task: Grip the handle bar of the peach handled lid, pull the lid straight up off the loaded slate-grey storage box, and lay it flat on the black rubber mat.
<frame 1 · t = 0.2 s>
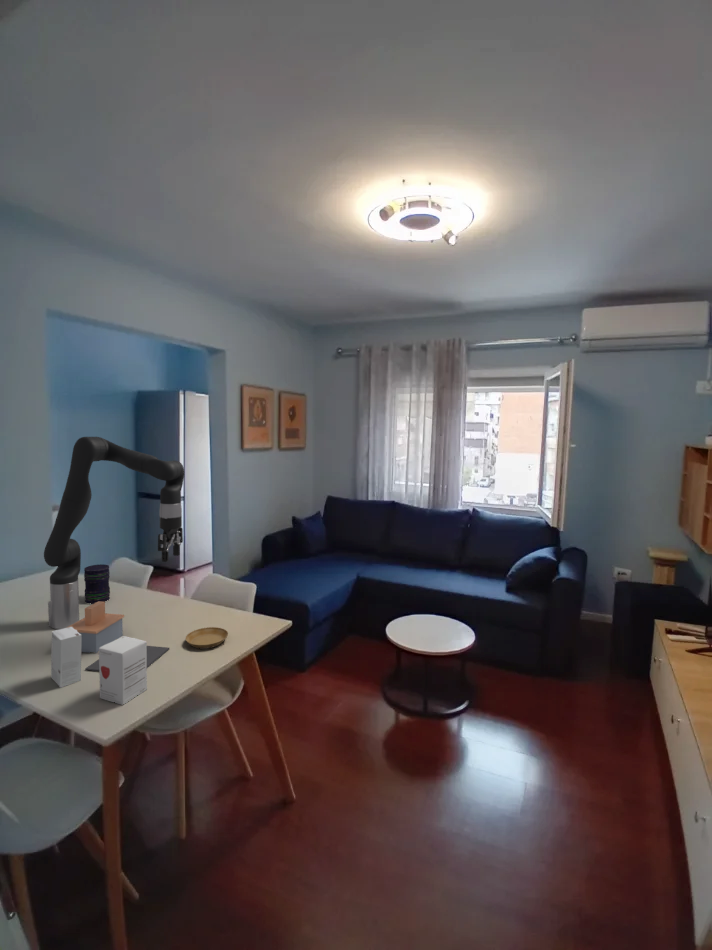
hand: (170, 558, 170), 29 cm above the table, tool pointing down, fingers open, 8 cm apart
black rubber mat: (129, 659, 152), on the table
peach handled lid: (95, 627, 163), point 5 cm above the table, touching slate storage box
skincare box: (66, 680, 139), on the table
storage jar: (97, 600, 205), on the table
supplement box: (123, 694, 132), on the table
plant saucer: (207, 642, 167), on the table
slate storage box: (95, 642, 164), on the table
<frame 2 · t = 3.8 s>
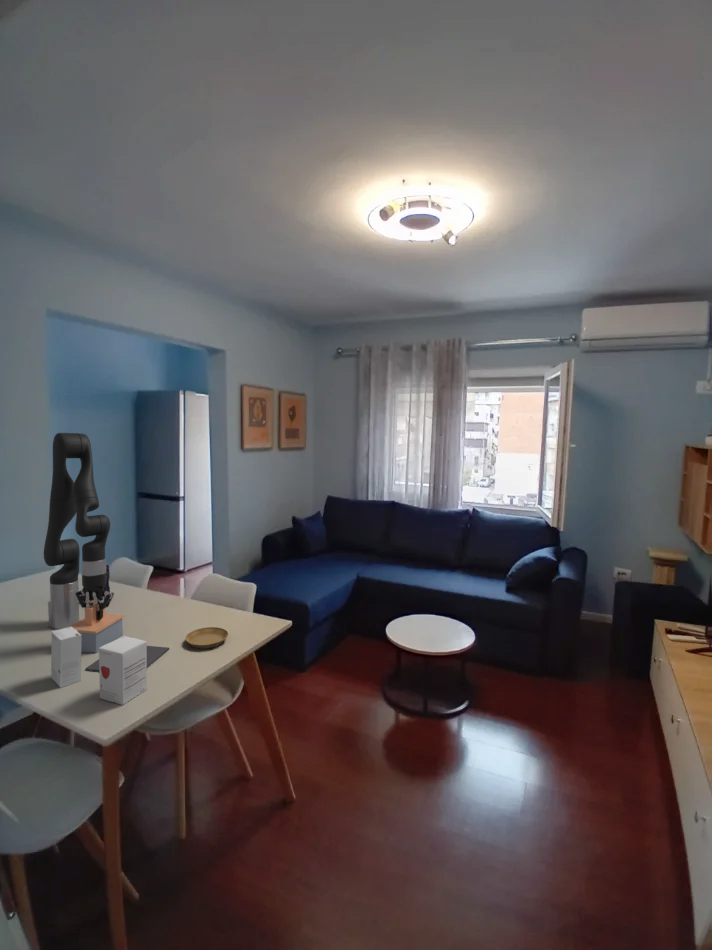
hand: (95, 619, 163), 9 cm above the table, tool pointing down, fingers closed on peach handled lid, 2 cm apart
peach handled lid: (95, 627, 163), point 5 cm above the table, touching gripper, slate storage box
everything else where it was.
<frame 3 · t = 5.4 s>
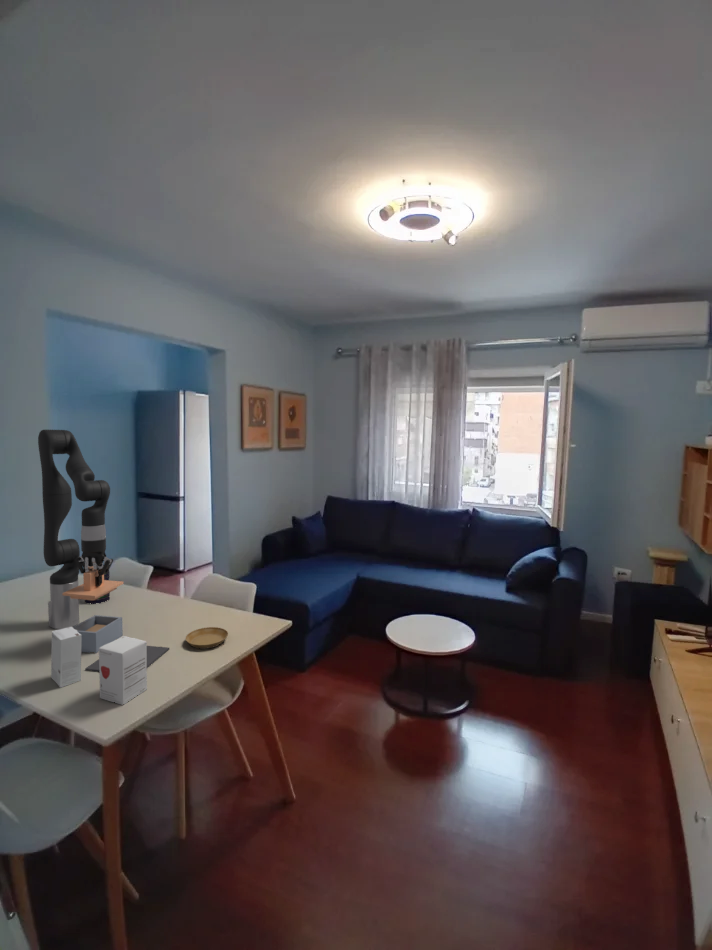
hand: (94, 585, 162), 21 cm above the table, tool pointing down, fingers closed on peach handled lid, 2 cm apart
peach handled lid: (94, 593, 162), point 18 cm above the table, touching gripper
everything else where it was.
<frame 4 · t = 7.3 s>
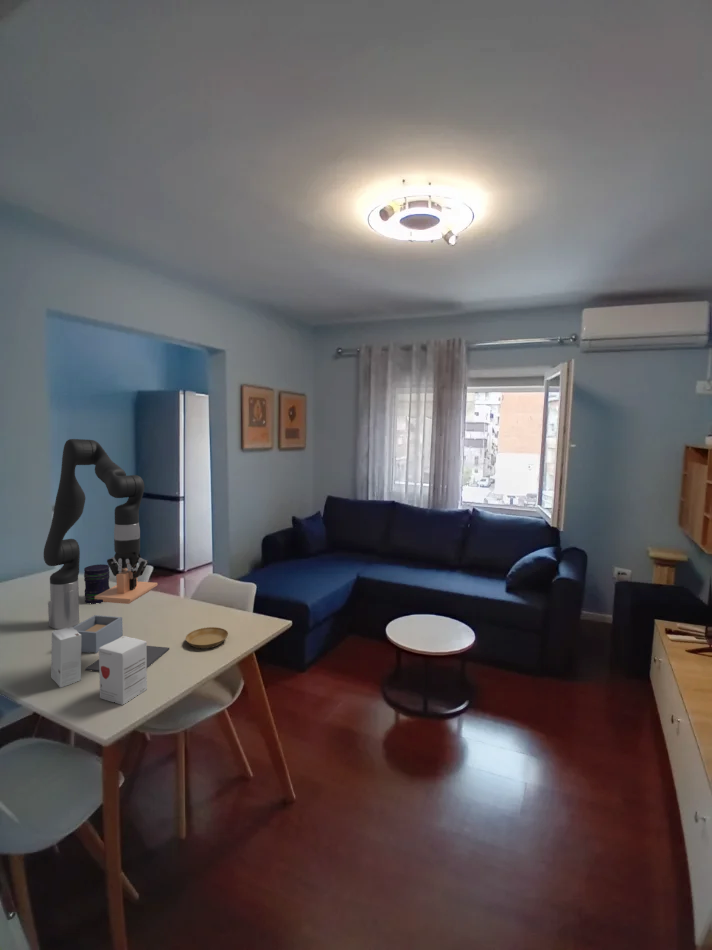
hand: (128, 588, 150), 24 cm above the table, tool pointing down, fingers closed on peach handled lid, 2 cm apart
peach handled lid: (127, 596, 150), point 22 cm above the table, touching gripper
everything else where it was.
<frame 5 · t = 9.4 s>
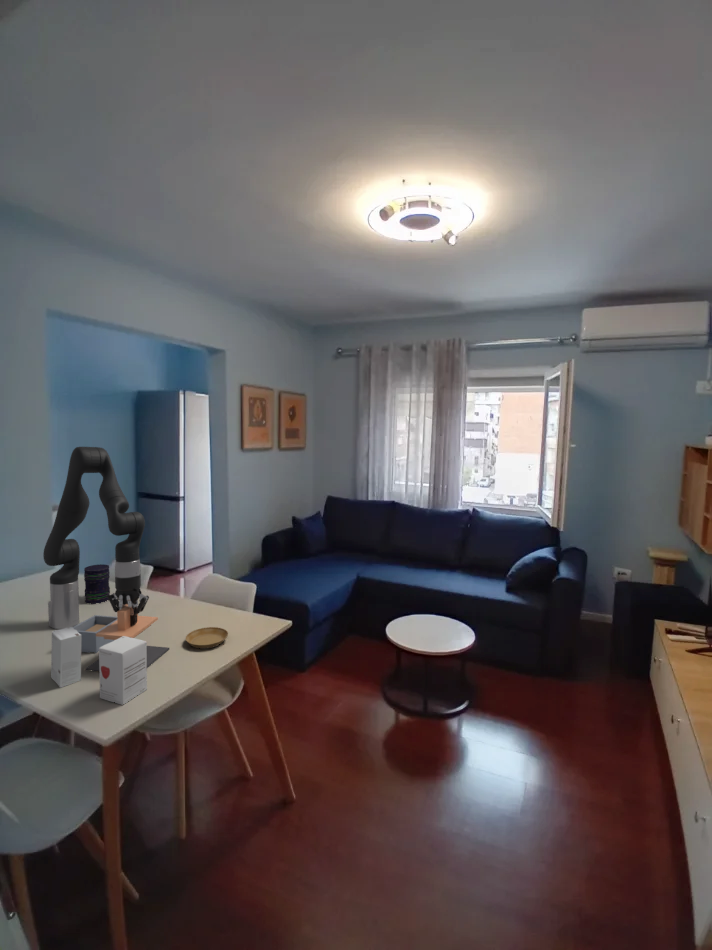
hand: (128, 624, 151), 12 cm above the table, tool pointing down, fingers closed on peach handled lid, 2 cm apart
peach handled lid: (128, 631, 151), point 10 cm above the table, touching gripper
everything else where it was.
when the fingers open (5 cm above the table, at t = 11.0 s): peach handled lid drops 2 cm, resting on black rubber mat.
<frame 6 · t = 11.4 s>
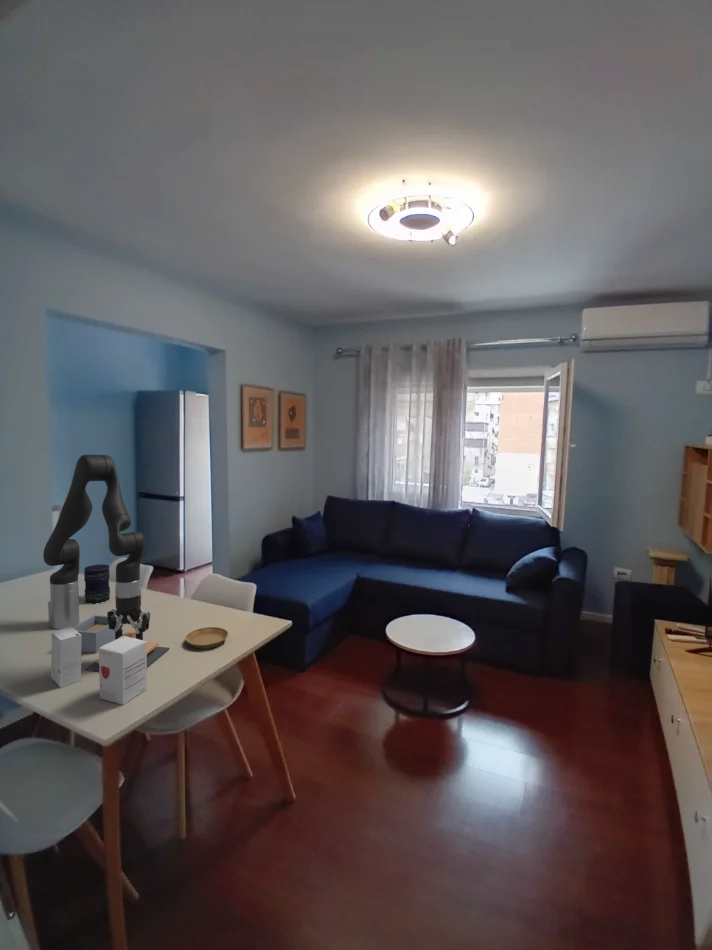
hand: (129, 642, 152), 6 cm above the table, tool pointing down, fingers open, 6 cm apart
peach handled lid: (129, 657, 152), point 1 cm above the table, touching black rubber mat
everything else where it was.
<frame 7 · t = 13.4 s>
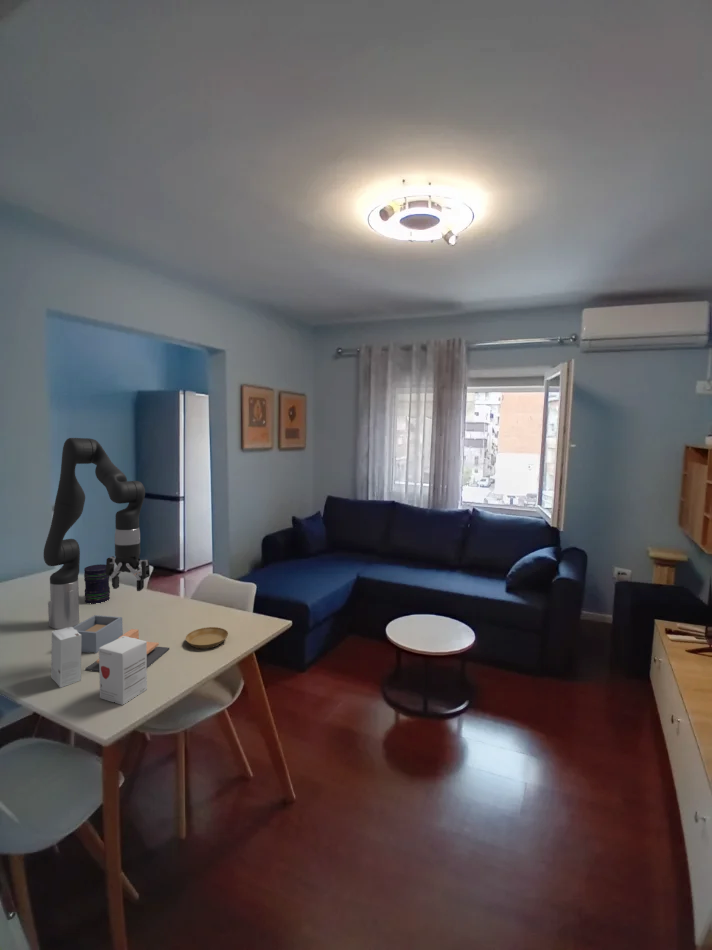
hand: (127, 589, 153), 23 cm above the table, tool pointing down, fingers open, 8 cm apart
nothing on the table moved.
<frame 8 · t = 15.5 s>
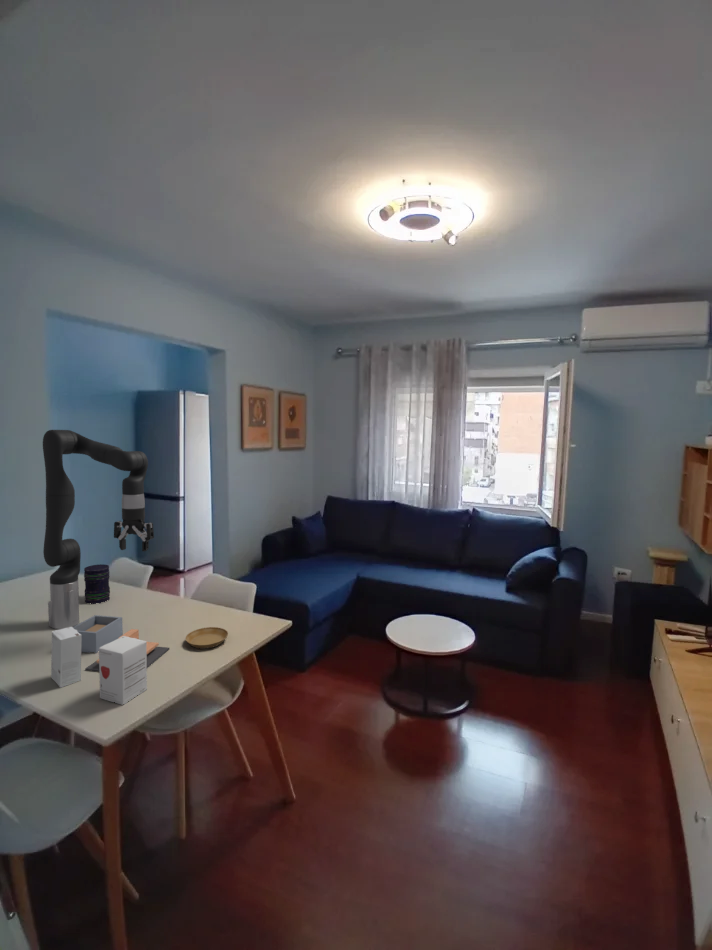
hand: (134, 550, 168), 32 cm above the table, tool pointing down, fingers open, 8 cm apart
nothing on the table moved.
at the end: peach handled lid inside the target area (0.2 cm from its centre), point 0.6 cm above the table; peach handled lid tilted 0°; the gripper is holding nothing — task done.
